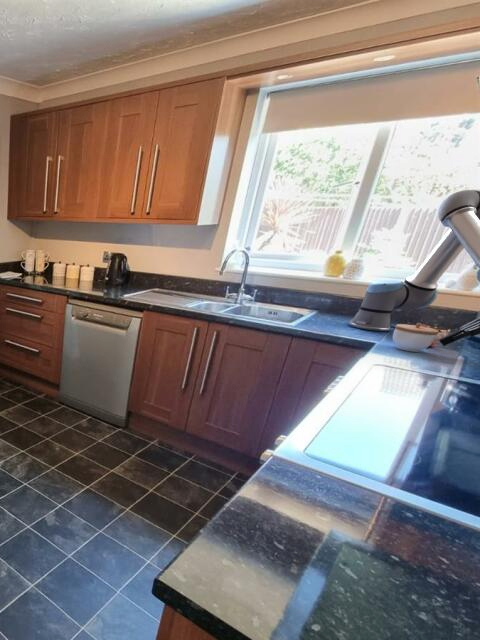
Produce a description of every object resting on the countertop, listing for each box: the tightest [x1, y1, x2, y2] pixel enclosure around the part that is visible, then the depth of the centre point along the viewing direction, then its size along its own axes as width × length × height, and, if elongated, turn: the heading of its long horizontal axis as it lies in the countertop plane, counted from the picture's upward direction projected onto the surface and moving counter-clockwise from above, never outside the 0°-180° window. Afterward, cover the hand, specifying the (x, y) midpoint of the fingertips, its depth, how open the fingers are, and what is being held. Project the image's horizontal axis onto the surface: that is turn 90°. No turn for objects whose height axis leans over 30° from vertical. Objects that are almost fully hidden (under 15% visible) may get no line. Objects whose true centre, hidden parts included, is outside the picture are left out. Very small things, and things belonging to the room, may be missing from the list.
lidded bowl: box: [392, 322, 440, 353], centre depth 174 cm, size 13×13×11 cm
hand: (441, 342), depth 170 cm, fingers closed
